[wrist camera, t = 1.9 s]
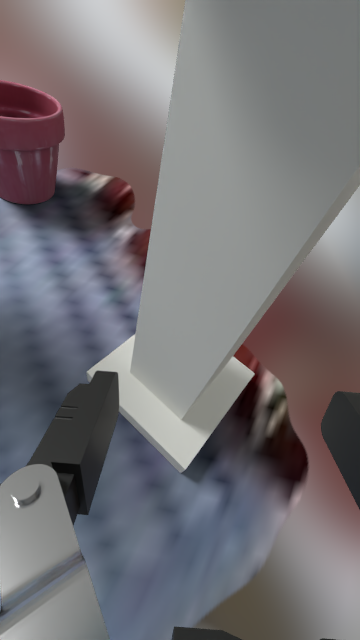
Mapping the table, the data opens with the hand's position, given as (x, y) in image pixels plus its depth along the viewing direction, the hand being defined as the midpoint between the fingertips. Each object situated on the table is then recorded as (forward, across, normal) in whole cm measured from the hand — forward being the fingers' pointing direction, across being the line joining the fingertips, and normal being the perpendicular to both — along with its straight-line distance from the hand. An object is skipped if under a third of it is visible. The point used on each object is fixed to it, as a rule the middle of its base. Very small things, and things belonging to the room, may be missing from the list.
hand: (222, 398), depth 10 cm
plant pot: (+42, +30, -3) cm, 52 cm away
